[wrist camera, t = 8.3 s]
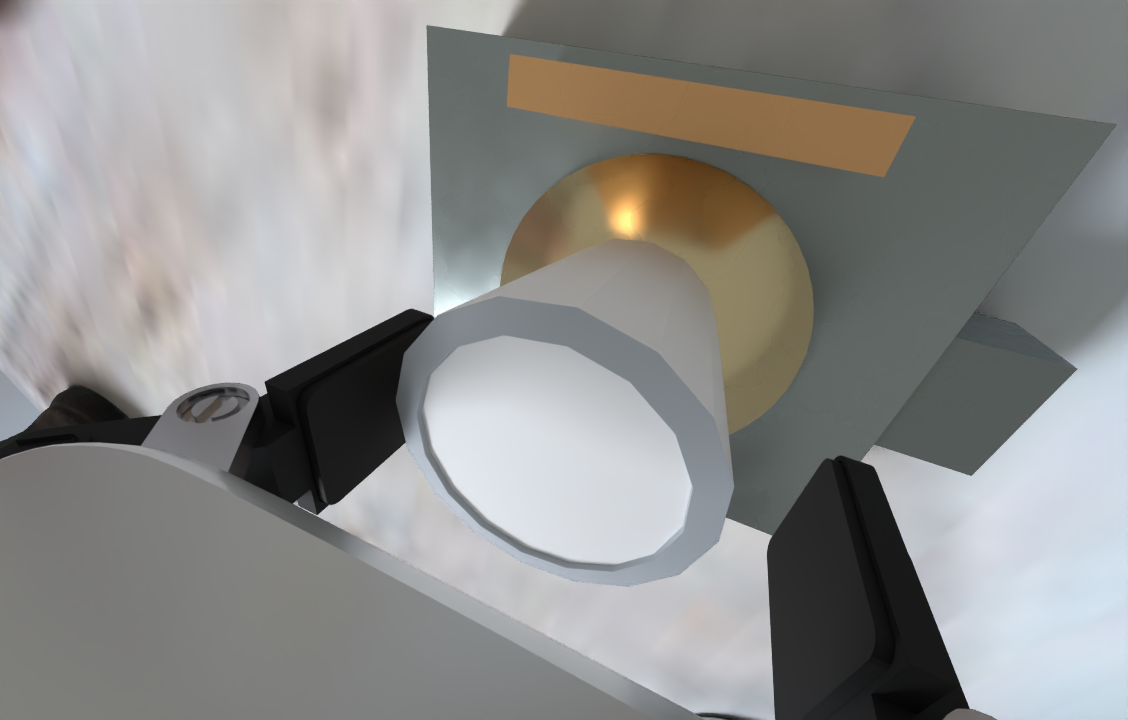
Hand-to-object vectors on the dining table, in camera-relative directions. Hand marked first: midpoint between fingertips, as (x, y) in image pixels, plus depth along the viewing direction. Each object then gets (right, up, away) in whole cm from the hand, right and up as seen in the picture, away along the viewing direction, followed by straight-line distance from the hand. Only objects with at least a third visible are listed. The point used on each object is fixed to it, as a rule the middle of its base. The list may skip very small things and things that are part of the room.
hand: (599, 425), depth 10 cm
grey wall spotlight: (+4, +4, +7) cm, 9 cm away
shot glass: (+1, +3, +4) cm, 5 cm away
